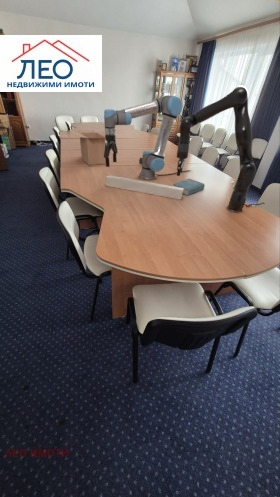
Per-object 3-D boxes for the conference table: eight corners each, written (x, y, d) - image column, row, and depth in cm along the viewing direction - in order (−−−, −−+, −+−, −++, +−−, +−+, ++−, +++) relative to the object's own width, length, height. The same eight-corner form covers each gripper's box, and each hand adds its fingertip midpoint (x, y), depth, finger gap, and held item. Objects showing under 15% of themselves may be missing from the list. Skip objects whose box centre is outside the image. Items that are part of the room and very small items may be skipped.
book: (188, 184, 197) (189, 178, 194) (203, 189, 189) (204, 183, 186) (172, 189, 184) (173, 183, 181) (188, 196, 175) (189, 190, 172)
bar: (106, 185, 183) (105, 176, 178) (108, 183, 187) (108, 175, 182) (180, 199, 169) (182, 190, 165) (182, 197, 173) (183, 188, 168)
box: (116, 165, 229) (116, 136, 213) (83, 168, 214) (80, 137, 198) (102, 154, 259) (101, 128, 243) (71, 156, 244) (68, 129, 228)
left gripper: (107, 138, 151) (109, 169, 163) (121, 132, 170) (121, 160, 183) (97, 136, 152) (99, 168, 165) (112, 131, 171) (113, 159, 184)
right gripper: (186, 153, 145) (182, 177, 155) (189, 149, 156) (185, 172, 166) (175, 151, 147) (172, 176, 157) (179, 147, 158) (176, 170, 168)
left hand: (111, 164), depth 174 cm, fingers open, 13 cm apart
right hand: (179, 174), depth 161 cm, fingers open, 8 cm apart
